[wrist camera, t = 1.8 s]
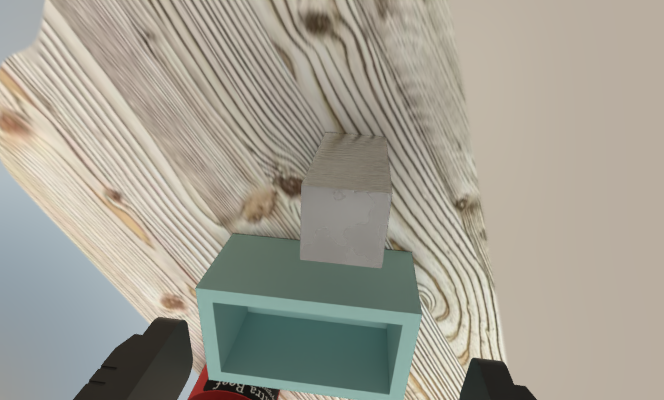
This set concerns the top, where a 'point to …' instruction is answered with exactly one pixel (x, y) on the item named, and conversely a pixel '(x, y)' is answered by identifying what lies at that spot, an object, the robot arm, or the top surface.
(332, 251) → the grey upright brick
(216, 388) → the canned food
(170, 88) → the top surface
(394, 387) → the box
